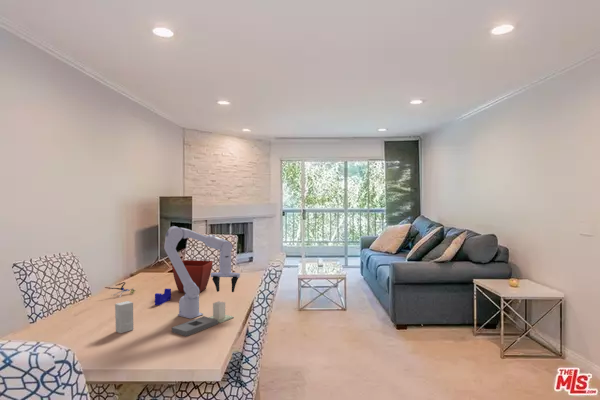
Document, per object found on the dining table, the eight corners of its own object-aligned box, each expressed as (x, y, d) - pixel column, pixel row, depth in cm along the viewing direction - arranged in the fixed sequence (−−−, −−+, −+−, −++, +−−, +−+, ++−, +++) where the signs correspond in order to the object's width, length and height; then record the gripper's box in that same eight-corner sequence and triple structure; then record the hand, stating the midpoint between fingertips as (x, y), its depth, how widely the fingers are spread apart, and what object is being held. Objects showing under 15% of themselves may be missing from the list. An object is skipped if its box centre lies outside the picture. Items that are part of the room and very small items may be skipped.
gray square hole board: (171, 332, 165) (171, 327, 165) (203, 320, 180) (203, 316, 180) (186, 336, 160) (186, 331, 160) (217, 324, 176) (217, 319, 175)
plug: (213, 318, 182) (212, 303, 182) (219, 315, 185) (219, 301, 185) (219, 319, 180) (219, 304, 180) (225, 317, 183) (225, 302, 183)
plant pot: (213, 287, 245) (213, 260, 245) (202, 294, 226) (202, 266, 226) (184, 286, 247) (184, 259, 247) (171, 294, 228) (171, 265, 228)
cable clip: (163, 299, 218) (163, 288, 218) (170, 299, 217) (170, 288, 217) (152, 305, 206) (152, 293, 206) (160, 305, 205) (160, 294, 205)
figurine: (137, 306, 227) (101, 302, 215) (134, 298, 234) (99, 294, 222) (143, 291, 226) (107, 286, 214) (140, 283, 233) (105, 278, 221)
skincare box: (128, 327, 171) (128, 300, 170) (133, 329, 168) (133, 302, 168) (115, 331, 166) (114, 303, 166) (119, 333, 163) (119, 305, 163)
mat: (206, 319, 182) (206, 318, 182) (219, 314, 189) (219, 313, 189) (220, 323, 177) (220, 321, 177) (233, 317, 184) (233, 316, 184)
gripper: (208, 265, 191) (208, 293, 191) (237, 266, 190) (237, 293, 190) (213, 263, 198) (213, 289, 198) (241, 263, 197) (241, 290, 197)
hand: (225, 291), depth 194 cm, fingers open, 7 cm apart
